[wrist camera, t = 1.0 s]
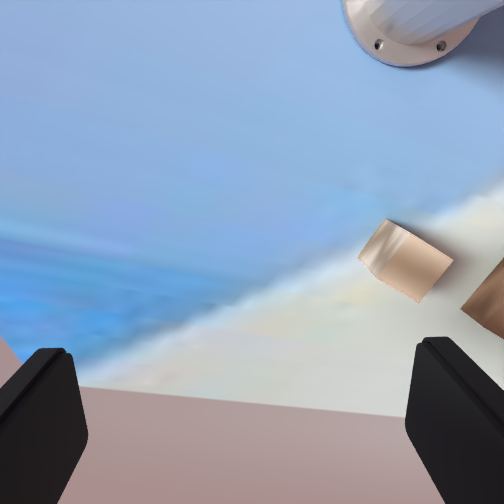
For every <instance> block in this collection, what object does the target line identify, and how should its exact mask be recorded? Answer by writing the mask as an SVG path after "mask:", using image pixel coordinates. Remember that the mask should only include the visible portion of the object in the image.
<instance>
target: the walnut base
mask: <svg viewBox="0 0 504 504" xmlns="http://www.w3.org/2000/svg"><path fill="white" fill-rule="evenodd" d="M461 310H463V311H464V312H465V313H466V314H468V315H469V316H470V317H471V318H473V319H474V320H475V321H477V322H478V323H479V324H480V325H482V326H483V327H484V328H486V329H488V330H489V331H491V332H493V333H494V334H496V335H498V336H499V337H501V338H503V339H504V258H503V259H502V261H501V262H500V263H499V264H498V265H497V266H496V268H495V269H494V270H493V271H492V272H491V274H490V275H489V276H488V277H487V278H486V279H485V281H484V282H483V283H482V284H481V285H480V286H479V288H478V289H477V290H476V291H475V292H474V294H473V295H472V296H471V297H470V298H469V299H468V301H467V302H466V303H465V304H464V305H463V306H462V308H461Z"/></svg>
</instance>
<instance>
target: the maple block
mask: <svg viewBox="0 0 504 504" xmlns="http://www.w3.org/2000/svg"><path fill="white" fill-rule="evenodd" d="M357 258H358V259H359V260H360V261H361V262H362V263H363V264H364V265H365V267H366V268H367V269H368V270H369V271H370V272H371V273H372V274H373V275H374V276H375V277H376V278H377V279H379V280H380V281H382V282H384V283H385V284H387V285H389V286H390V287H392V288H394V289H396V290H397V291H399V292H401V293H402V294H404V295H406V296H408V297H409V298H411V299H413V300H414V301H416V302H418V303H419V302H420V301H421V300H422V299H423V298H424V296H425V295H426V294H427V293H428V291H429V290H430V289H431V288H432V286H433V285H434V284H435V283H436V281H437V280H438V279H439V278H440V276H441V275H442V274H443V273H444V272H445V270H446V269H447V268H448V267H449V265H450V264H451V263H452V262H453V259H451V258H450V257H448V256H446V255H445V254H443V253H442V252H440V251H439V250H437V249H435V248H434V247H432V246H431V245H429V244H427V243H426V242H424V241H423V240H421V239H420V238H418V237H416V236H415V235H413V234H412V233H410V232H408V231H406V230H405V229H403V228H401V227H399V226H398V225H396V224H394V223H392V222H391V221H389V220H387V219H384V220H383V222H382V223H381V225H380V226H379V227H378V229H377V230H376V231H375V233H374V234H373V236H372V237H371V238H370V240H369V241H368V243H367V244H366V245H365V247H364V248H363V250H362V251H361V252H360V254H359V255H358V256H357Z"/></svg>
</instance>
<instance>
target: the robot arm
mask: <svg viewBox="0 0 504 504" xmlns="http://www.w3.org/2000/svg"><path fill="white" fill-rule="evenodd" d="M503 5H504V0H342V7H343V13H344V16H345V19H346V22H347V26H348V28H349V29H350V31H351V33H352V35H353V37H354V39H355V40H356V41H357V43H358V44H359V45H360V46H361V48H362V49H363V50H364V51H366V52H367V53H368V54H369V55H370V56H372V57H373V58H375V59H377V60H379V61H381V62H383V63H385V64H389V65H393V66H400V67H411V66H417V65H422V64H425V63H428V62H430V61H433V60H436V59H438V58H440V57H442V56H444V55H446V54H447V53H448V52H450V51H451V50H452V49H454V48H455V47H456V46H458V45H459V44H460V43H461V42H462V41H463V40H464V39H465V38H466V37H467V36H468V34H469V33H470V32H471V31H472V29H473V28H474V26H475V25H476V23H477V22H478V21H479V19H480V17H481V16H483V15H485V14H487V13H489V12H491V11H493V10H495V9H497V8H499V7H501V6H503ZM375 44H377V45H378V49H377V50H376V49H375V46H374V45H375ZM437 46H438V48H439V49H438V50H437ZM405 428H406V432H407V434H408V437H409V438H410V440H411V442H412V444H413V446H414V448H415V449H416V451H417V453H418V455H419V457H420V458H421V460H422V462H423V464H424V466H425V468H426V469H427V471H428V473H429V475H430V476H431V478H432V480H433V482H434V484H435V486H436V488H437V489H438V491H439V493H440V495H441V497H442V498H443V500H444V502H445V504H504V390H502V389H501V388H500V387H499V386H498V385H497V384H496V383H495V382H494V381H493V380H492V379H491V378H490V377H489V376H488V375H487V374H486V373H485V372H484V371H483V370H482V369H481V368H480V367H479V366H478V365H477V364H476V363H475V362H474V361H473V360H472V359H471V358H470V357H469V356H468V355H467V354H466V353H465V352H464V351H463V350H462V349H461V348H460V347H459V346H458V345H456V344H455V343H454V342H453V341H452V340H451V339H450V338H449V337H426V338H424V339H423V341H422V343H418V344H417V346H416V351H415V358H414V365H413V371H412V378H411V385H410V391H409V398H408V404H407V411H406V418H405ZM87 440H88V429H87V425H86V420H85V415H84V410H83V405H82V401H81V395H80V391H79V386H78V381H77V376H76V371H75V366H74V362H73V357H72V355H71V354H70V353H66V351H65V349H63V348H41V349H38V350H37V351H36V352H35V353H34V354H33V355H32V356H31V357H30V358H29V359H28V360H27V361H26V362H25V363H24V364H23V365H22V366H21V367H20V368H19V369H18V370H17V371H16V373H15V374H14V375H13V376H12V377H11V378H10V379H9V380H8V381H7V382H6V383H5V384H4V385H3V386H2V387H1V388H0V504H57V503H58V501H59V499H60V497H61V495H62V493H63V491H64V489H65V487H66V485H67V483H68V481H69V479H70V477H71V475H72V473H73V471H74V469H75V467H76V465H77V463H78V461H79V459H80V457H81V455H82V453H83V451H84V449H85V447H86V444H87Z"/></svg>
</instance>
